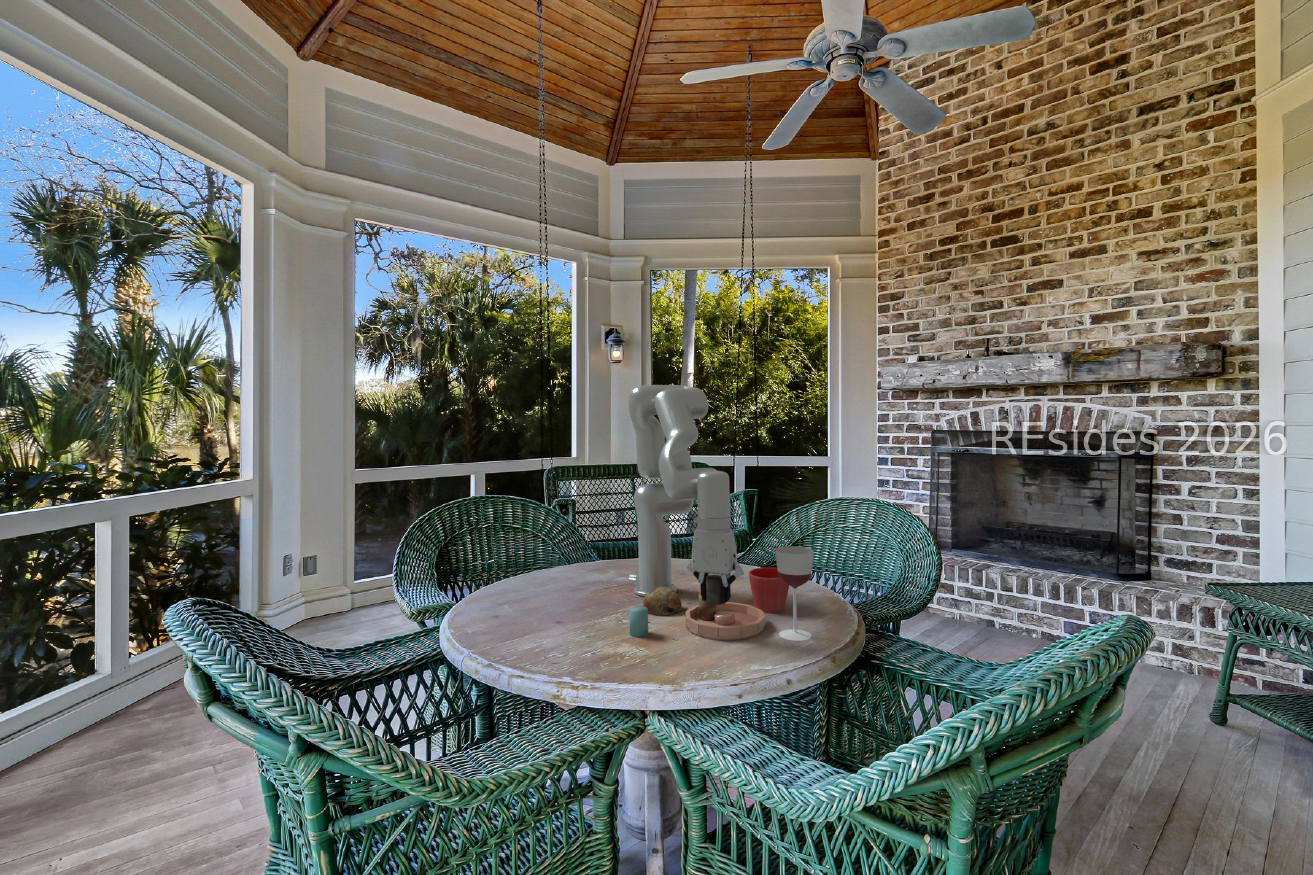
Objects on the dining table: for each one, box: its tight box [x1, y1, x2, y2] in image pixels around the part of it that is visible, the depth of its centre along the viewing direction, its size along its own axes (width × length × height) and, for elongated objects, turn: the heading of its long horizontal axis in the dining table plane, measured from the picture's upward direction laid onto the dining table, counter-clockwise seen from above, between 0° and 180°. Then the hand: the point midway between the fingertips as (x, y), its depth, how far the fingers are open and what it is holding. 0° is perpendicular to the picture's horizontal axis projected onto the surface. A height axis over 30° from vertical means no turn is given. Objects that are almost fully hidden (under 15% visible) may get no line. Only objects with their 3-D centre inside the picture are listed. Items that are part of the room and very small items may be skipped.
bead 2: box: [706, 574, 723, 605], centre depth 153 cm, size 4×4×6 cm
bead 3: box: [698, 592, 717, 621], centre depth 162 cm, size 4×4×6 cm
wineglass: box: [775, 546, 814, 642], centre depth 152 cm, size 8×9×20 cm
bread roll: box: [642, 587, 683, 616], centre depth 172 cm, size 10×10×8 cm
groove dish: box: [685, 601, 766, 641], centre depth 159 cm, size 19×19×3 cm
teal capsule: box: [628, 605, 649, 638], centre depth 155 cm, size 4×4×6 cm
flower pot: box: [748, 567, 790, 614], centre depth 172 cm, size 11×11×10 cm
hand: (715, 599), depth 153 cm, fingers closed on bead 2, 4 cm apart
